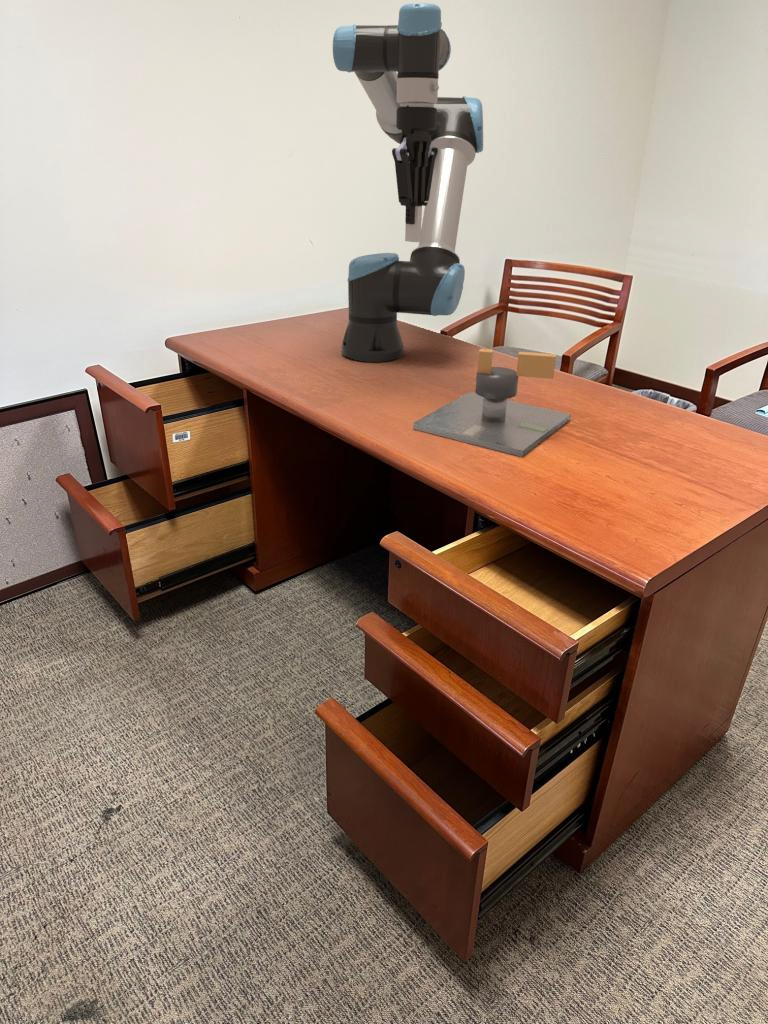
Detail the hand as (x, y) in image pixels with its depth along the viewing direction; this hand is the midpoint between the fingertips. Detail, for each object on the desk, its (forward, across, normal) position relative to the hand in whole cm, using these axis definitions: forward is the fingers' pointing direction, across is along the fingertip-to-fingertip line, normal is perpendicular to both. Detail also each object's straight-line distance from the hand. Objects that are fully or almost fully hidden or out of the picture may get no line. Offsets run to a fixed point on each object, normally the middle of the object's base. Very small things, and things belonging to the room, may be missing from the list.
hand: (412, 241), depth 146 cm
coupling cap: (+23, -10, -29) cm, 38 cm away
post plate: (+29, -11, -26) cm, 41 cm away
